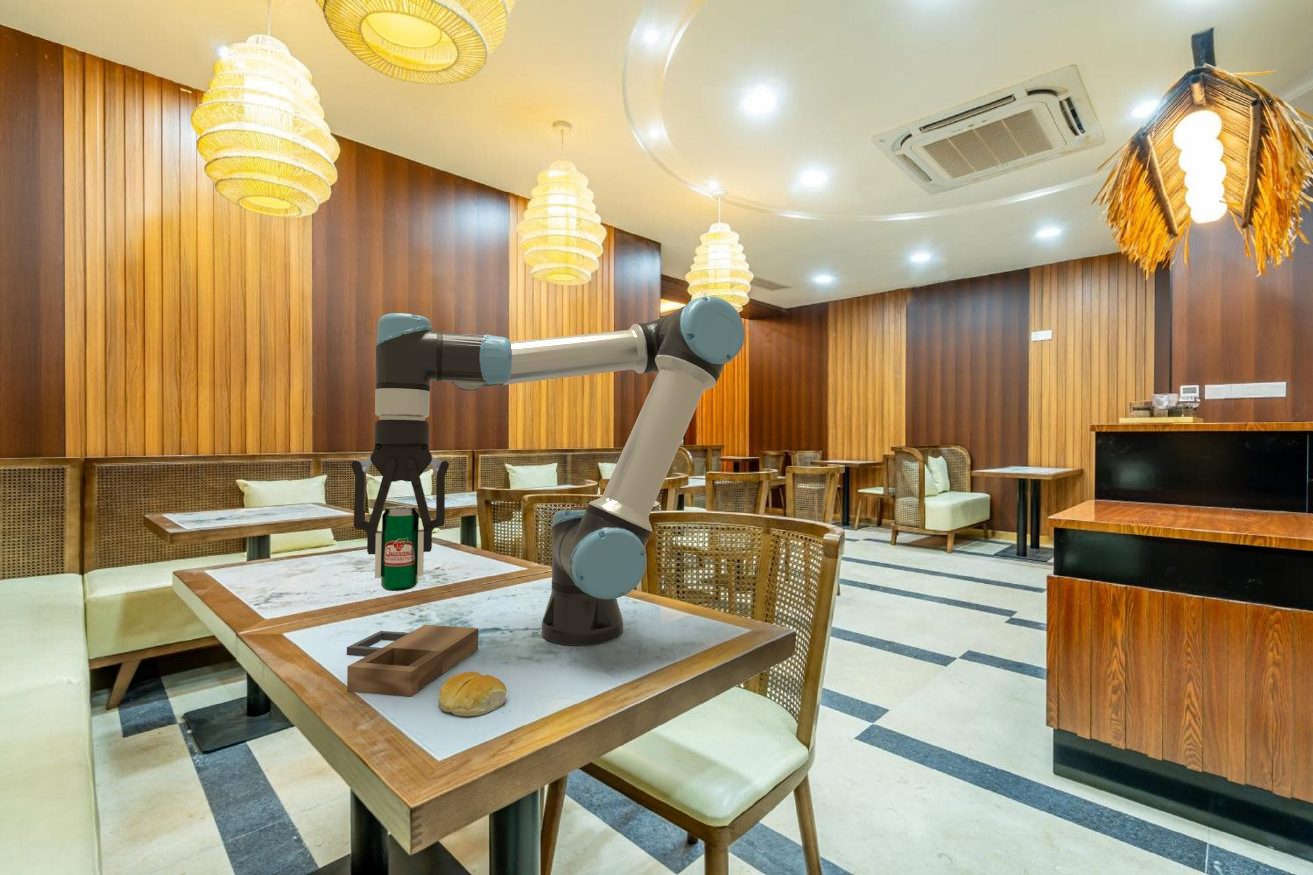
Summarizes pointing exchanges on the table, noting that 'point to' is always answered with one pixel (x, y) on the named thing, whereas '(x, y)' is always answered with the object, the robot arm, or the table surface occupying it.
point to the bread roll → (471, 694)
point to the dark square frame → (372, 642)
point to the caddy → (412, 660)
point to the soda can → (399, 548)
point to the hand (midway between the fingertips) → (399, 574)
